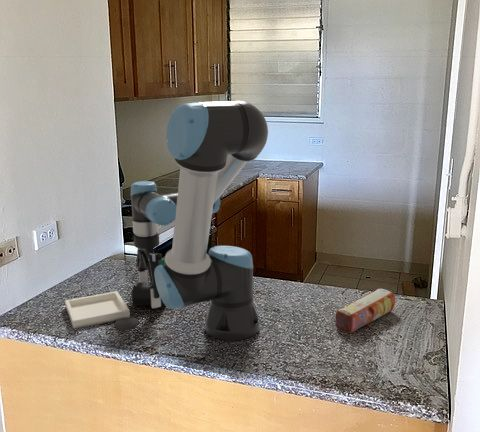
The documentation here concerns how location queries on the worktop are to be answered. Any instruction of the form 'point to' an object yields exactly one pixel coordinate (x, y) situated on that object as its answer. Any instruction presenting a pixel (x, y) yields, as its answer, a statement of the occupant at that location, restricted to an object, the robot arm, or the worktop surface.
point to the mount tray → (96, 309)
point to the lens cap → (126, 323)
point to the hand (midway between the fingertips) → (149, 298)
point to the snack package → (365, 310)
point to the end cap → (142, 295)
